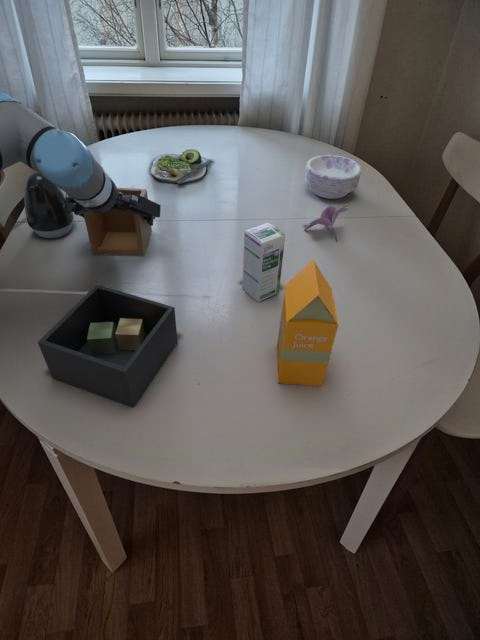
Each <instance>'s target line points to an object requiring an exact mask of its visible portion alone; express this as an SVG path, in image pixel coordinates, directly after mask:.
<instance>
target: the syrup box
mask: <svg viewBox="0 0 480 640" xmlns="http://www.w3.org/2000/svg"><path fill="white" fill-rule="evenodd" d="M285 241H286V234H285V233H284V232H283V231H282V230H280V229H279V228H278V227H276V226H275V225H273V224H271V223H270V222H267V221H266V222H264V223H263V224H260V225H257V226H254V227H251V228H249V229H248V228H247V229H245V230H244V231H243V255H242V256H243V258H242V259H243V260H242V287H241V288H242V290H244V291H245V293H247V294H248V295H249V296H250V297H251V298H252V299H253V300H254V301H256V302H257V303H260V302H262V301H263V300H266V299H269V298H271V297H273V296H275V295H277V294H279V293H280V287H281V278H282V268H283V261H284V251H285V243H286V242H285Z"/></svg>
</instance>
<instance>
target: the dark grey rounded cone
mask: <svg viewBox="0 0 480 640" xmlns="http://www.w3.org/2000/svg"><path fill="white" fill-rule="evenodd" d="M23 193H24V194H23V195H24V196H23V197H24V198H23V199H24V212H25V219H26V223H27V225H28V227H29V228H31V229H32V231H33V232H34V233H35V234H36V235H37V236H39V237H41V238H44V239H57V238H61V237H64V236H65V235H68V233H70V231H71V230H72V228H73V224H74V223H73V221H74V218H75V217H74V212H71V214H66V213H65V198H66V194H65V193H64V191H63V190H62V189H60V188H59V187H58V186H56V185H55V184H54V183H52V182H51V181H49V180H48V179H46V178H45V177H44V176H42V175H41V174H39V173H38V172H36V171H35V172H32V173H31V174H29V175H28V177H27V179H26V181H25V185H24V191H23Z"/></svg>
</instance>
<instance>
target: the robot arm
mask: <svg viewBox="0 0 480 640" xmlns="http://www.w3.org/2000/svg"><path fill="white" fill-rule="evenodd" d="M17 163H18V164H19V163H22V164H24V165H26V166H27V167H28V168H30V169H32V170H33V171H35V172H38V173H39V174H41V175H42V176H44V177H45V178H46V179H48V180H49V181H51V182H52V183H54V184H55V185H56V186H58V187H59V188H60V189H61V190H62V192H63V193H65V197H66V198H65V213H66V214H71V212H72V213H73V215H75V216H80V217H82V218H83V219H84V215H83V212H87V211H89V212H91V213H96V214H100V213H105V212H107V211H109V210H115V211H119V212H125V211H127V212H131V213H134V214H139V215H141V216H144V219H145V220H146V221H147V223H148V224H149V225H150V226H151V227H153V226H154V220H156V218H160V217H161V209H162V207H161V204H159V203H157V202H155V201H153V200H151V199H149V198H148V199H146V198H144V197H142V196H140V195H139V194H138V193H137V192H135V191H131V192H130V195H125V194H122V193H120V192H118V189H117V188H118V187H117V185H116V183H115V182H114V180H113V179H112V178H111V177H110V175H109V174H108V173H107V172H106V170H105V169H104V168H103V167H102V165H101V164H100V162H98V160H97V159H96V158H95V157H94V155H93V154H92V152H91V150H90V149H89V148H88V145H86V143H84V142H83V141H81V140H80V139H79V138H78V137H77V136H76V135H75V134H74V133H72V132H69V131H67V130H61V129H59V128H57V127H56V126H54V125H53V124H51V123H50V122H49V121H47V120H46V119H45V118H43V117H42V116H40V115H39V114H37V113H36V112H35V111H33V109H30V107H29V106H28V105H26V104H25V103H23V102H21V101H19V100H17V99H15V98H14V97H12V96H10V95H9V94H7V93H4V92H0V172H1V171H3V170H6V169H7V168H9V167H12V166H13V165H15V164H17ZM118 206H120V207H118Z"/></svg>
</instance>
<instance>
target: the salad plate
mask: <svg viewBox="0 0 480 640" xmlns="http://www.w3.org/2000/svg"><path fill="white" fill-rule="evenodd" d="M212 162H213V160H212V159H208V160H207V159H205V158H204V157H202V155H201V153H200V151H198V150H197V149H186V150H184V151H182V152H181V154H179V155H177V154H163V155H161V156H158V157H156V158H155V159H154V160H153V163H152V166H151V168H150V174H151V176H152V177H154V178H155V179H157V180H159V181H161V182H163V183H166V184H167V183H169V184H178V185H179V184H186V183H189V182H193V181H196V180H199V179H202V178H203V177H204V176H205V174H206V171H207V168H208V166H209V165H210V164H211V163H212ZM162 171H166V175H168V176H167V177H165V176H163V174H162Z"/></svg>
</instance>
